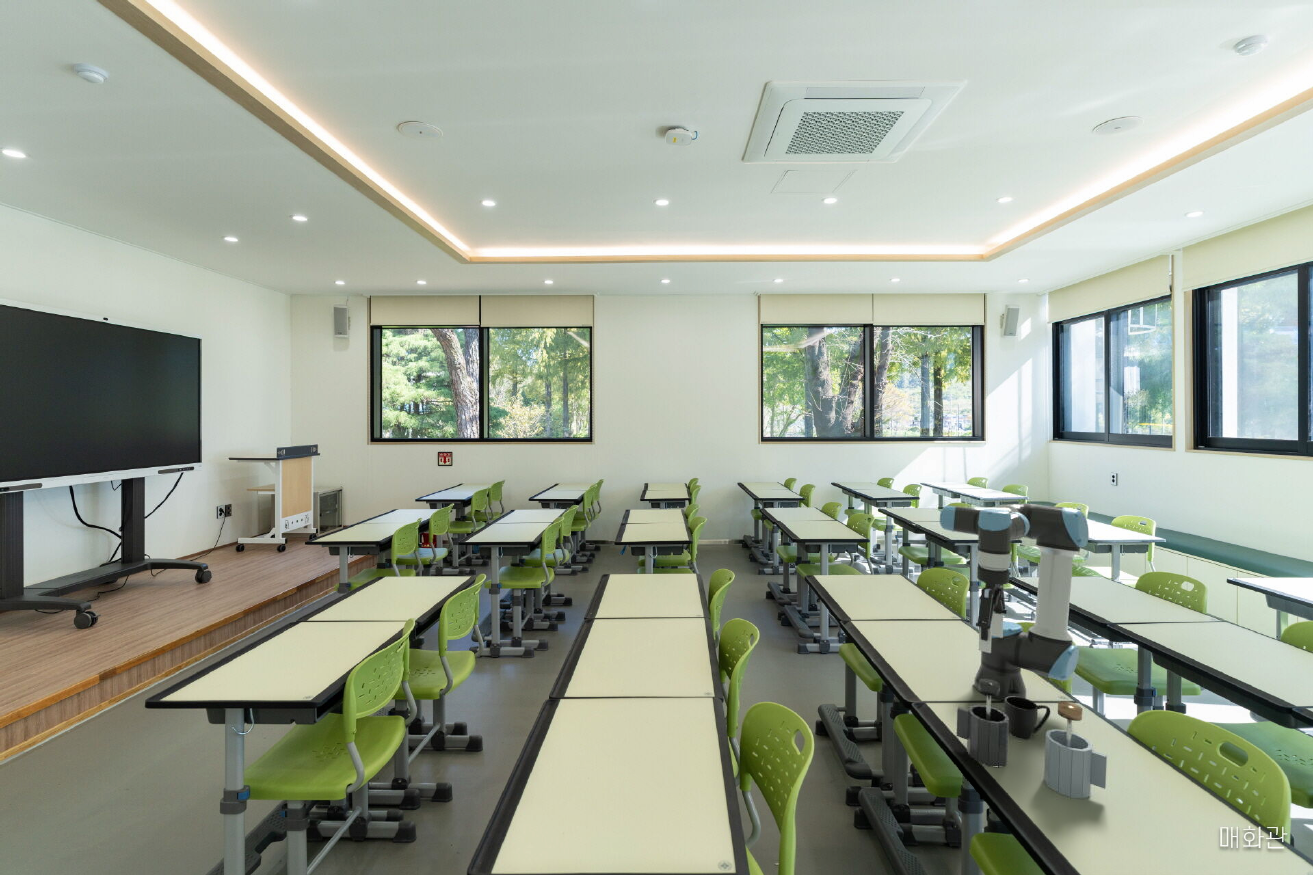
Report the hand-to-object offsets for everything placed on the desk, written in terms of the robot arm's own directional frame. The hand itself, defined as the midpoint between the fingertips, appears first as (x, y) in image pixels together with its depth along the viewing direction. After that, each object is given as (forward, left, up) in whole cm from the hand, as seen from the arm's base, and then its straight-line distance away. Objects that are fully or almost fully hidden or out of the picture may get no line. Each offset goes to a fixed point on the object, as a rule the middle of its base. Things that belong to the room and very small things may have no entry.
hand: (991, 643), depth 155 cm
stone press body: (0, +19, -32) cm, 37 cm away
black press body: (0, -1, -32) cm, 32 cm away
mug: (-20, +6, -32) cm, 38 cm away
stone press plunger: (0, +18, -28) cm, 34 cm away
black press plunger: (0, 0, -29) cm, 29 cm away
